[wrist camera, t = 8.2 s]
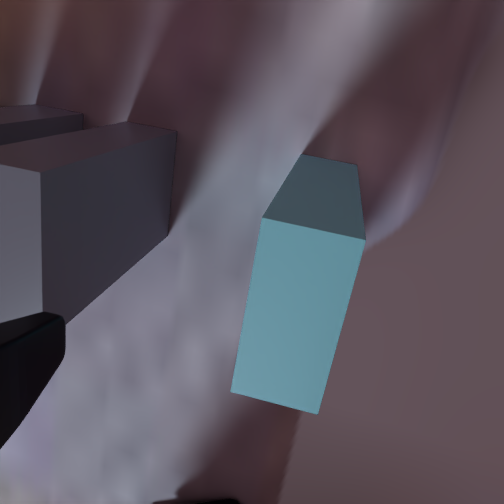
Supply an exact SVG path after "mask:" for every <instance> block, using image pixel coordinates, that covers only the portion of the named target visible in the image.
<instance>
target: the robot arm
mask: <svg viewBox="0 0 504 504" xmlns="http://www.w3.org/2000/svg"><path fill="white" fill-rule="evenodd" d="M65 347H66V324H65V319H64V317H63V316H61V315H58V314H54V313H50V312H39V313H35V314H32V315H28V316H24V317H21V318H17V319H13V320H9V321H6V322H2V323H0V449H1V448H2V446H3V445H4V444H5V443H6V442H7V440H8V439H9V438H10V437H11V435H12V434H13V433H14V432H15V430H16V429H17V428H18V426H19V425H20V424H21V422H22V421H23V420H24V418H25V417H26V415H27V414H28V412H29V411H30V409H31V408H32V406H33V405H34V403H35V402H36V400H37V399H38V397H39V396H40V394H41V393H42V391H43V390H44V388H45V387H46V385H47V384H48V382H49V380H50V379H51V377H52V376H53V374H54V373H55V371H56V370H57V368H58V367H59V365H60V364H61V362H62V360H63V358H64V355H65ZM197 504H239V502H237V501H236V500H233V499H226V500H219V501H211V502H204V503H197Z"/></svg>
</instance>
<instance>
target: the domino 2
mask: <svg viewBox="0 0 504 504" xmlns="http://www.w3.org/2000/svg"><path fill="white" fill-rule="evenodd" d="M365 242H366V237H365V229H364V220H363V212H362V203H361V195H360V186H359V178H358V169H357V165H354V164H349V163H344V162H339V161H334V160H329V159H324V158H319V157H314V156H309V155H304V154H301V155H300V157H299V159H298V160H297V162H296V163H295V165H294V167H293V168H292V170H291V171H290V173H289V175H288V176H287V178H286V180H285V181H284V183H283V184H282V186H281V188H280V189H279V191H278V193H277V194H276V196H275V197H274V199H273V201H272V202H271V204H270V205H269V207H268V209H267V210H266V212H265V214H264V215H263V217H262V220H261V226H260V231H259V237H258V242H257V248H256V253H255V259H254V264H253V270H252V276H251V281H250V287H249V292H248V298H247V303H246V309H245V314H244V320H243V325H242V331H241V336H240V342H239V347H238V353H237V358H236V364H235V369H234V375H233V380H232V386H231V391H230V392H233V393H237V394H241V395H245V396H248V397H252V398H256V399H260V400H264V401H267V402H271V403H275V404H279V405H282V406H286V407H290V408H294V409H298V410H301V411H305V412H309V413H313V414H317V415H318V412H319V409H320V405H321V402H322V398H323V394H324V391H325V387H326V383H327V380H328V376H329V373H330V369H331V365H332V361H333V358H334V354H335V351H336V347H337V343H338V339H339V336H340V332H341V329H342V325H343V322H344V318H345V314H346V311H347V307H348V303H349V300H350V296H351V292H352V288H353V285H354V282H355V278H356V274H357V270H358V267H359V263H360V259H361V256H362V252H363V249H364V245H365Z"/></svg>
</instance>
